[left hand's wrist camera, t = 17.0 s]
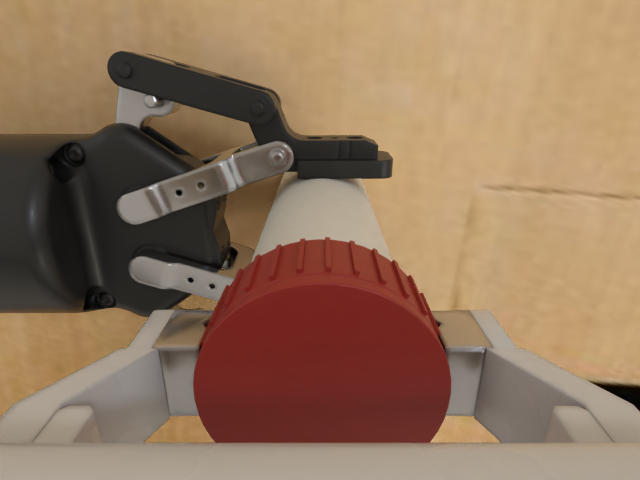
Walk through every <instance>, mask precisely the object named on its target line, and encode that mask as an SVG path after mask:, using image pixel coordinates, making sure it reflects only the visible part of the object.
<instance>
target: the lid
mask: <svg viewBox="0 0 640 480" xmlns="http://www.w3.org/2000/svg"><path fill="white" fill-rule="evenodd" d="M440 334H441V332H440V330H439V328H438V326H437V323H436V321H435V319H434V317H433V315H432V312H431V310H430V308H429V306H428V304H427V301H426V299H425V297H424V295H423V293H419V291H418V289H417V286H416V284H415V282H414V279H413V277H412V276H411V275H410V276H407V275H406V274H405V273H404V272H403V271H402V270H401V269H400V268H399V266H398V263H397V262H396V261H395V260H393V261H392V262H391V261H390V260H389V259H387V258H386V257H384V256H382V255H381V254H379V253H378V250H377V249H375V248H373V249H372V250H370V249H368V248H366V247H363V246H360V245H357V244H355V241H352V240H350V242H345V241H338V240H330V237H325V240H324V239H316V240H305V238H303V239H300V242H295V243H290V244H287V245H284V246H282V245H281V244H279V245H277V246H276V249H273V250H271V251H269V252H267V253H265V254H263V255H262V256H260V255H259V254H258V255H257V256H255V259H254V261H253V262H251V263H250V264H249V265H248V266H247V267H246V268H245V269H242V268H240V269H239V270H238V272H237V274H236V276H235V279H234V281H233V282H232V283H231V285H230V286H229V285H226V286H225V288H224V290H223V293H222V295H221V297H220V299H219V301H218V303H217V305H216V308H215V310H214V312H213V314H212V316H211V319H210V321H209V323H208V325H207V327H206V329H205V332H204V334H203V336H202V338H201V340H200V343H199V345H200V346H202V348H201V350H200V353H199V355H198V358H197V361H196V365H195V370H194V378H193V390H194V400H195V403H196V407H197V411H198V414H199V416H200V418H201V421H202V423H203V425H204V427H205V428H206V430H207V432H208V433H209V435H210V436H211V438H212V439H213V440H214V441H215V442H216V443H430V441H431V440H432V439H433V437H434V436H435V435H436V433H437V432H438V430H439V428H440V426H441V424H442V423H443V421H444V418H445V415H446V413H447V410H448V407H449V401H450V396H451V374H450V368H449V364H448V361H447V357H446V354H445V352H444V349H443V347H442V345H441V343H440V340H439V338H438V335H440Z"/></svg>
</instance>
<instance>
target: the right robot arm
mask: <svg viewBox="0 0 640 480" xmlns="http://www.w3.org/2000/svg"><path fill="white" fill-rule="evenodd" d="M108 73H109V76H110V77H111V79H112V80H113V82H114V83H115V84H117V85H118V86H119V89H118V100H117V111H116V122H115V124H111V125H108V126H106V127H104V128H103V129H101V130H100V131H98V132H97V133H95V134H0V313H80V312H88V311H94V310H99V309H105V308H114V307H115V308H121V309H125V310H128V311H131V312H133V313H135V314H137V315H140V316H143V317H149V316H150V315H151V314H152V312H153V311H155V310H203V309H202V308H196V309H184V308H181V307H180V306H178V305H177V304H179V303H180V302H182V301H183V300H184V299H186V298H187V297H189V296H190V295H192V294H194V295H198V296H201V297H205V298H209V299H212V300H216V301H219V299H220V297H221V295H222V293H223V290H224V288H225V286H226V285H229V286H230V285H231V283H232V282H233V281H234V279H235V276H236V274H237V272H238V270H239V269H240V268H242V269H245V268H246V267H247V266H248V265H249V264H250V263H251V260H252V258H253V255H254V252H255V251H254V250H253V249H251V248H249V247H246V246H243V245H239V244H236V243H232V242H230V232H229V230H228V227H227V225H226V222H225V219H224V211H225V205H226V200H227V198H226V194H228V193H230V192H233V191H235V190H237V189H238V188H240V187H242V186H244V185H247V184H250V183H253V182H256V181H259V180H262V179H265V178H268V177H271V176H274V175H277V174H280V173H283V172H297V179H376V178H389V177H391V176H392V164H393V158H392V157H391V156H390V155H389V153H388V152H384V151H378V145H377V144H376V142H375V141H374V140H372V139H370V138H367V137H365V136H362V135H349V136H347V135H341V136H304V135H299V134H297V133H295V132H294V131H293V130H291V128H290V127H289V126H288V124H287V121H286V119H285V116H284V113H283V111H282V108H281V100H280V97H279V96H278V94H277V93H276V92H275V91H274V90H272V89H269V88H266V87H262V86H259V85H255V84H252V83H248V82H245V81H241V80H238V79H234V78H231V77H228V76H224V75H221V74H217V73H214V72H210V71H207V70H203V69H200V68H196V67H193V66H190V65H186V64H183V63H179V62H176V61H172V60H169V59H165V58H162V57H158V56H155V55H151V54H143V53H135V52H124V51H120V52H116V53H114V54H113V55H112V56H111V57H110V59H109V61H108ZM181 104H183V105H186V106H190V107H193V108H197V109H201V110H204V111H208V112H211V113H215V114H218V115H222V116H226V117H229V118H233V119H236V120H240V121H243V122H247V123H249V125H250V127H251V130H252V132H253V134H254V137H255V139H256V141H255V142H252V143H249V144H246V145H243V146H238V147H234V148H231V149H228V150H225V151H222V152H220V153H217V154H214V155H211V156H208V157H205V158H202V159H198V158H196V157H195V156H193V155H192V154H190V153H189V152H187V151H186V150H184V149H183V148H181V147H180V146H178V145H177V144H175V143H174V142H172V141H171V140H169V139H168V138H166V137H165V136H163V135H162V134H160V133H159V132H157V131H156V130H154V129H153V128H151V127H150V126H148V125H149V122H150V120H151V118H152V117H154V116H158V117H162V116H166V115H170V114H173V113H175V112H176V111H177V110H178V109H179V108H180V105H181ZM221 268H225V269H221Z"/></svg>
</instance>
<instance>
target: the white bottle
mask: <svg viewBox="0 0 640 480" xmlns="http://www.w3.org/2000/svg"><path fill="white" fill-rule="evenodd" d="M325 237H330V240H338V241H345V242H350V240H352V241H355V244H357V245H360V246H363V247H366V248H368V249H370V250H372V249H373V248H375V249H377V250H378V253H379V254H381V255H382V256H384V257H386V258H387V259H389V260H390V261H391V262H392V259H391V256H390V254H389V251H388V248H387V246H386V243H385V240H384V238H383V235H382V232H381V230H380V227H379V224H378V222H377V219H376V217H375V214H374V211H373V209H372V206H371V203H370V201H369V198H368V195H367V193H366V190H365V187H364V185H363V182H362V179H297V172H284V175H283V177H282V180H281V183H280V185H279V188H278V191H277V193H276V196H275V199H274V201H273V204H272V207H271V209H270V212H269V215H268V217H267V220H266V223H265V226H264V228H263V231H262V234H261V236H260V239H259V242H258V244H257V247H256V250H255V252H254V255H253V258H252V260H251V262H253V261H254V259H255V256H257V255H258V254H259V255H260V256H262V255H263V254H265V253H267V252H269V251H271V250H273V249H276V246H277V245H279V244H281V245H282V246H284V245H287V244H290V243H295V242H300V239H303V238H305V240H316V239H324V240H325Z"/></svg>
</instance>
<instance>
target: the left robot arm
mask: <svg viewBox="0 0 640 480" xmlns="http://www.w3.org/2000/svg"><path fill="white" fill-rule="evenodd" d="M213 312H214V311H208V310H155V311H153V312H152V314H151V315H150V316H149V318H148V319H147V321H146V322H145V323H144V325H143V326H142V328H141V329H140V330H139V332H138V333H137V335H136V336H135V338H134V339H133V340H132V342H131V343H130V345H129V346H128V347H127V348H120V349H118V350H116V351H114V352H112V353H110V354H109V355H107V356H105V357H103V358H101V359H99V360H97V361H95V362H93V363H91V364H89V365H87V366H86V367H84V368H82V369H80V370H78V371H76V372H74V373H72V374H70V375H68V376H66V377H64V378H62V379H61V380H59V381H57V382H55V383H53V384H51V385H49V386H47V387H45V388H43V389H41V390H39V391H38V392H36V393H34V394H32V395H30V396H28V397H26V398H24V399H22V400H20V401H18V402H16V403H14V404H13V405H12V406H11V407H10V408H9V409H8V410H7V412H6V413H5V414H4V415H3V416H2V417H1V418H0V480H640V412H639V411H638V409H637V408H636V407H635V406H634V405H633V404H631V403H629V402H627V401H625V400H623V399H621V398H619V397H617V396H615V395H613V394H611V393H609V392H608V391H606V390H604V389H602V388H600V387H598V386H596V385H594V384H592V383H590V382H588V381H586V380H584V379H582V378H580V377H579V376H577V375H575V374H573V373H571V372H569V371H567V370H565V369H563V368H561V367H559V366H557V365H555V364H553V363H552V362H550V361H548V360H546V359H544V358H542V357H540V356H538V355H536V354H534V353H532V352H530V351H528V350H526V349H524V348H517V347H516V345H515V344H514V343H513V341H512V340H511V339H510V337H509V336H508V334H507V333H506V332H505V330H504V329H503V328H502V326H501V325H500V324H499V322H498V321H497V319H496V318H495V317H494V315H493V314H492V313H491V311H489V310H487V309H485V310H454V311H431V312H432V315H433V317H434V319H435V321H436V323H437V326H438V328H439V330H440V332H441V334H440V335H438V338H439V340H440V343H441V345H442V347H443V349H444V352H445V354H446V357H447V361H448V364H449V368H450V374H451V396H450V401H449V407H448V410H447V413H446V415H449V416H475V417H474V418H475V419H476V420H477V421H478V422H479V423H481V424H482V425H483V426H484V427H485V428H486V429H487V430H488V431H489V432H490V433H491V434H493V435H494V436H495V437H496V438H497V439H498V440H499V441H500V442H501V443H143V442H144V441H145V440H147V439H148V438H149V437H150V436H151V435H152V434H153V433H154V432H155V431H156V430H157V429H159V428H160V427H161V426H162V425H163V424H164V423H165V422H166V421H167V420H168V419H169V418H170V417H169V416H194V415H199V414H198V411H197V407H196V403H195V400H194V390H193V378H194V370H195V365H196V361H197V358H198V355H199V353H200V350H201V348H202V346H200V345H199V343H200V340H201V338H202V336H203V334H204V332H205V329H206V327H207V325H208V323H209V321H210V319H211V316H212V314H213Z"/></svg>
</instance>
